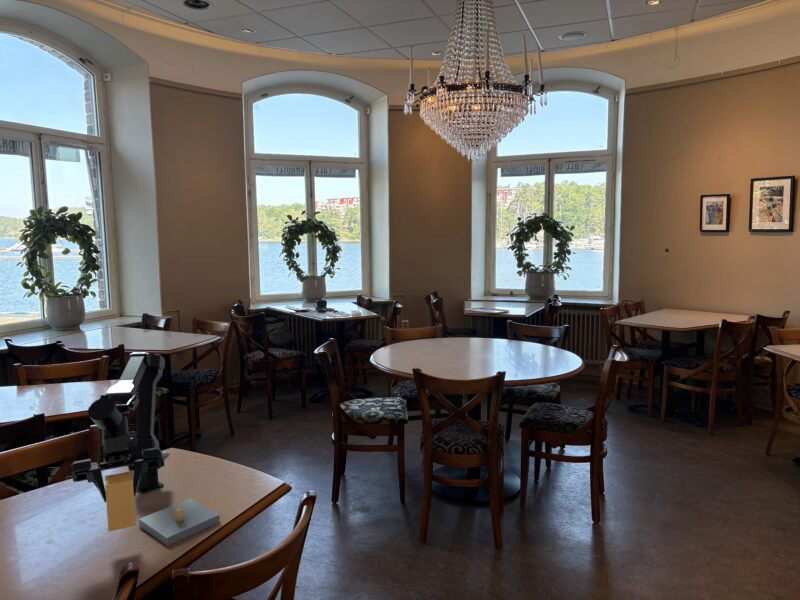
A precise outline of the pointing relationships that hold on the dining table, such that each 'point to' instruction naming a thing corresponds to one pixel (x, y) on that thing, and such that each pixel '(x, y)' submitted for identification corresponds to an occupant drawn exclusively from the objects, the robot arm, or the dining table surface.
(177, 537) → the terminal board
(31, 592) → the dining table surface
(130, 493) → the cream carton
